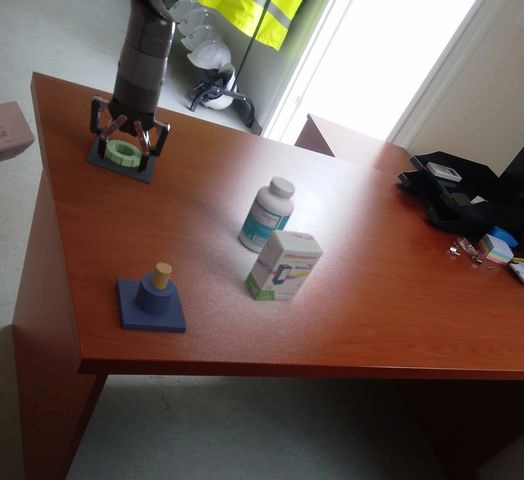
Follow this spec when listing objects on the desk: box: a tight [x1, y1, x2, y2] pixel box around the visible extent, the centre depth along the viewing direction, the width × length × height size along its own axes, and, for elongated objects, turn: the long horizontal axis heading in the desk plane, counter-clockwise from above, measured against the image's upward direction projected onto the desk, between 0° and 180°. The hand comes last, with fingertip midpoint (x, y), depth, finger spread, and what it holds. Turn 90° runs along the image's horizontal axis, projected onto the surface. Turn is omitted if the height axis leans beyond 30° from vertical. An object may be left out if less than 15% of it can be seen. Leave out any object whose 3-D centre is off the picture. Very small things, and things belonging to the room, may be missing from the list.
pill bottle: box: [239, 176, 296, 254], centre depth 87 cm, size 8×7×14 cm
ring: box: [105, 139, 142, 167], centre depth 87 cm, size 7×7×1 cm
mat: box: [85, 135, 157, 185], centre depth 91 cm, size 12×12×1 cm
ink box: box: [244, 229, 324, 301], centre depth 78 cm, size 9×5×12 cm, turn 118°
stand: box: [116, 262, 187, 334], centre depth 65 cm, size 9×9×8 cm
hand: (121, 163), depth 89 cm, fingers closed on ring, 6 cm apart
